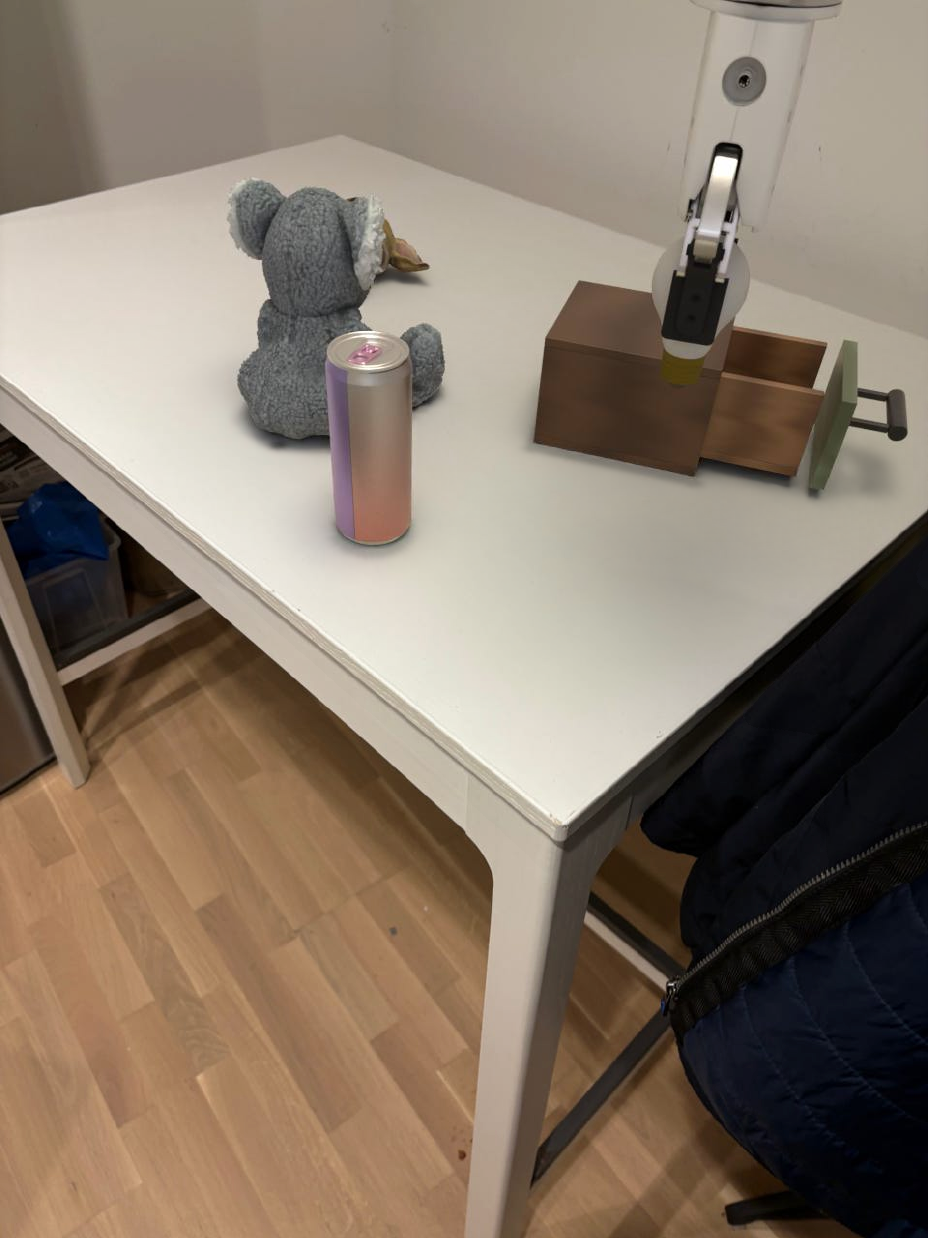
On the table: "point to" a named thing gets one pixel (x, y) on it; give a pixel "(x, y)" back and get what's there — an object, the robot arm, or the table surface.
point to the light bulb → (688, 358)
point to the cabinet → (622, 383)
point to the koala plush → (312, 299)
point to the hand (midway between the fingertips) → (693, 315)
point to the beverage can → (370, 434)
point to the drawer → (789, 405)
